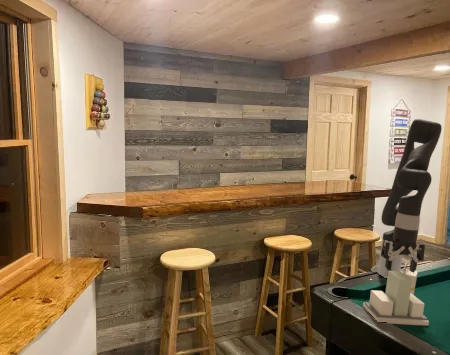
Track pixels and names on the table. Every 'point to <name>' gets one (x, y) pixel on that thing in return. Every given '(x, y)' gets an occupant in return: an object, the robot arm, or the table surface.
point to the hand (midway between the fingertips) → (400, 270)
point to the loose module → (399, 291)
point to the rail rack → (383, 308)
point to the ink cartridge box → (411, 277)
